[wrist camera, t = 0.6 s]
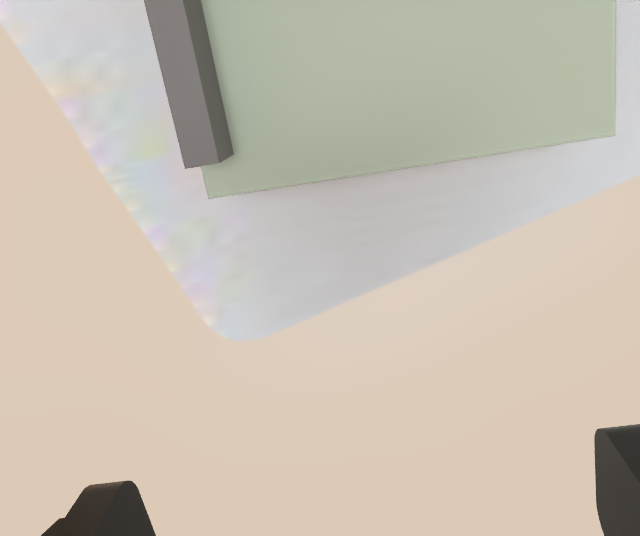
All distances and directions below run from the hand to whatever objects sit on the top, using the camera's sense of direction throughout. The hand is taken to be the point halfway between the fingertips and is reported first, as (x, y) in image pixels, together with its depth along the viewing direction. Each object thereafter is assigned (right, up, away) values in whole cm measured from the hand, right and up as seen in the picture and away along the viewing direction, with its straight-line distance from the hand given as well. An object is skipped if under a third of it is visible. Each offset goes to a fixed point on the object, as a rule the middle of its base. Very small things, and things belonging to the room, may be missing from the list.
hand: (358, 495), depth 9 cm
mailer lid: (+2, +17, +15) cm, 23 cm away
